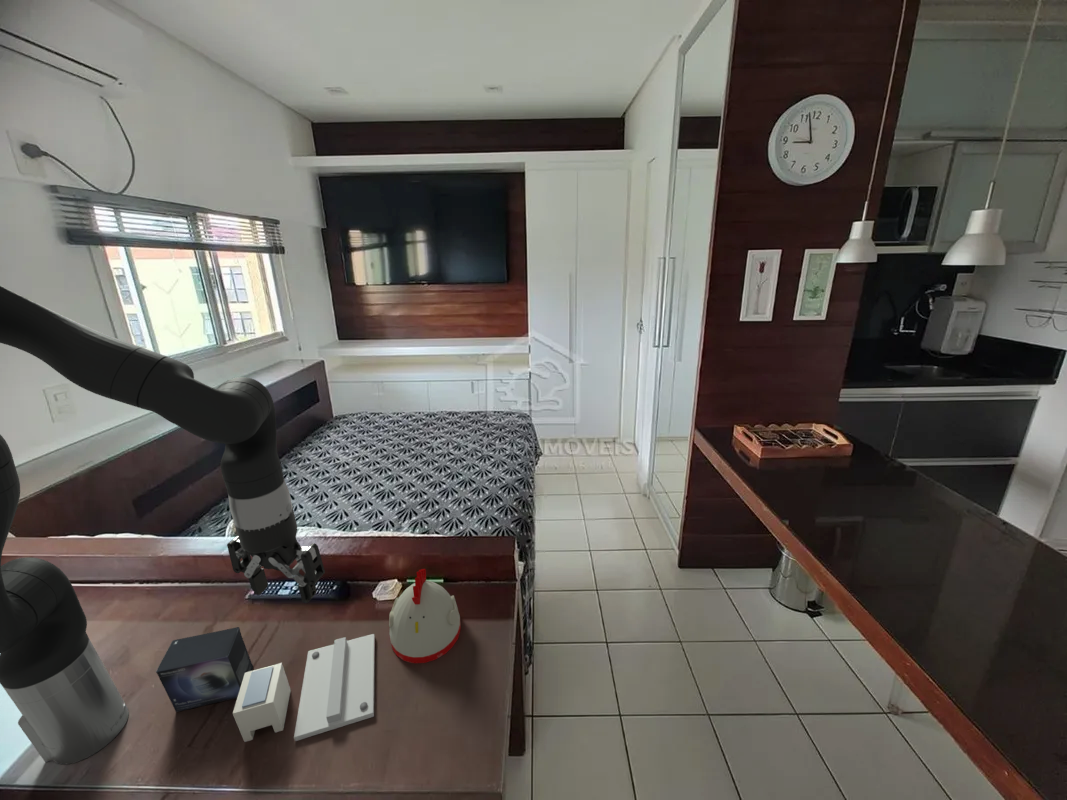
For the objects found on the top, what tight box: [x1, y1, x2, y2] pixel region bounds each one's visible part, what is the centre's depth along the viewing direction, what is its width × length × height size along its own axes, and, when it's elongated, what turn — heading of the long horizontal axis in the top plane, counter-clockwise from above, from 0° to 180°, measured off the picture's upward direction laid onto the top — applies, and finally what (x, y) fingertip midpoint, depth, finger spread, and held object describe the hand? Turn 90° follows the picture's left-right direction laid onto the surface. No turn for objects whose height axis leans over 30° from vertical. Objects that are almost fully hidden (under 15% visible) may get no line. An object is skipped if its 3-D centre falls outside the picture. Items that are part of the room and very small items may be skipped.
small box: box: [155, 626, 254, 713], centre depth 76 cm, size 11×6×10 cm, turn 105°
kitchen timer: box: [388, 568, 462, 664], centre depth 86 cm, size 14×14×15 cm
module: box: [232, 662, 292, 743], centre depth 73 cm, size 6×7×7 cm
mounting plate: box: [293, 633, 376, 742], centre depth 79 cm, size 12×16×3 cm
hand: (285, 594), depth 71 cm, fingers open, 8 cm apart
